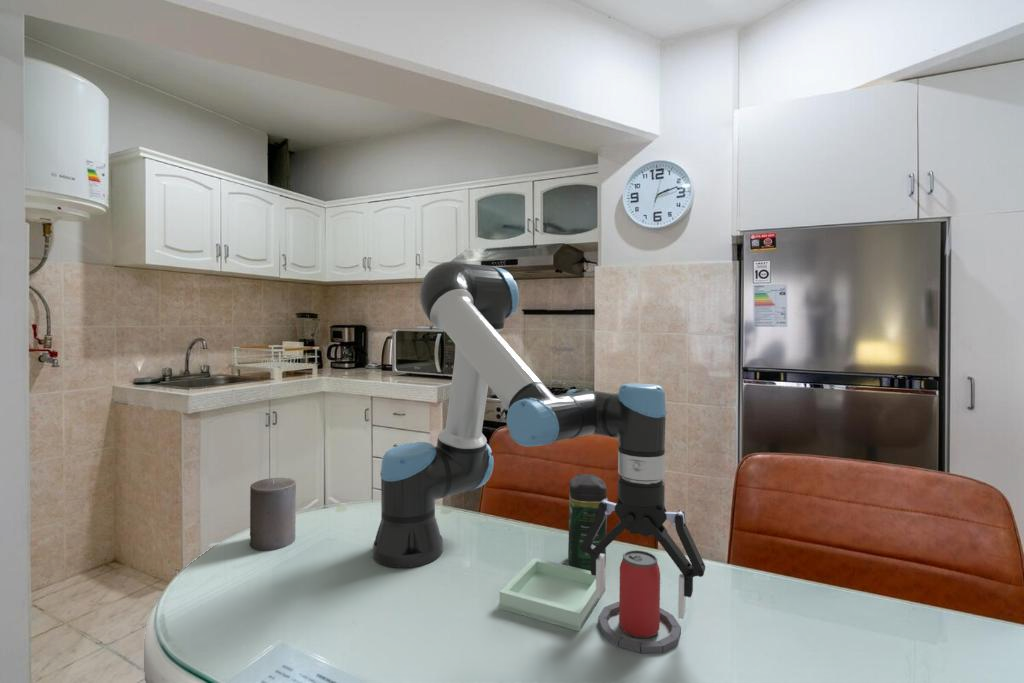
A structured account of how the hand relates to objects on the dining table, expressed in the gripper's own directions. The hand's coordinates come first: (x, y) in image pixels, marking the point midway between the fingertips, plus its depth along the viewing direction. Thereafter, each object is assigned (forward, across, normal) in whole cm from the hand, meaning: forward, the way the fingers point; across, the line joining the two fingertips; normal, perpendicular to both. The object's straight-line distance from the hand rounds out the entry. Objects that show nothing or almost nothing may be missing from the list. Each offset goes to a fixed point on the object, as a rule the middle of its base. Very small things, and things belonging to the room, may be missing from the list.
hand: (639, 604), depth 85 cm
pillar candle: (+4, -83, -5) cm, 83 cm away
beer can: (+4, 0, 0) cm, 4 cm away
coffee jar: (+4, -15, +18) cm, 24 cm away
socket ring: (+4, 0, 0) cm, 4 cm away
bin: (+4, -16, +2) cm, 17 cm away
